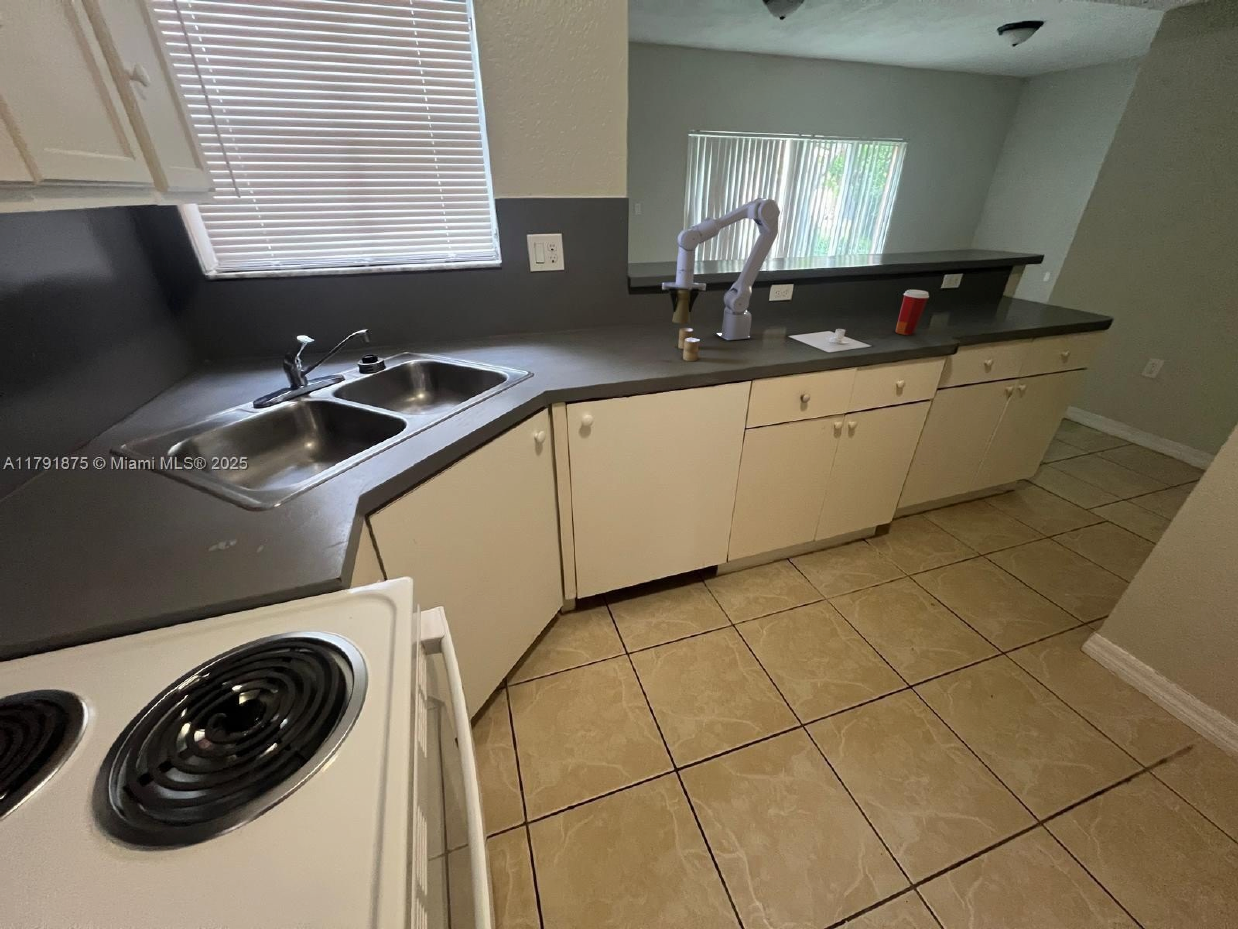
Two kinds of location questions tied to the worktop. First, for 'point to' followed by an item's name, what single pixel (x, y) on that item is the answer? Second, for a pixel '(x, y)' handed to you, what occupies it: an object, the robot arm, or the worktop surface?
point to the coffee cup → (911, 311)
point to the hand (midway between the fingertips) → (681, 311)
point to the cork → (682, 306)
